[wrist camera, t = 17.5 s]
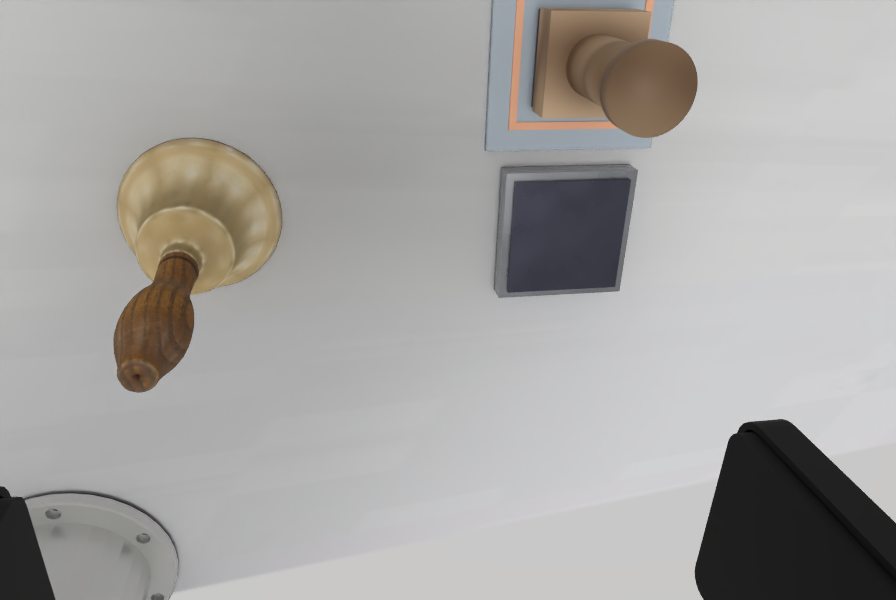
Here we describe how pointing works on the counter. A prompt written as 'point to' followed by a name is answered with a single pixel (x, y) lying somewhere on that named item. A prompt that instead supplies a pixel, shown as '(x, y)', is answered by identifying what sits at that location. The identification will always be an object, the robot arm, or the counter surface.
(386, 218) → the counter surface
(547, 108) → the stamp
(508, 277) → the ink pad
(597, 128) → the card
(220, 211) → the hand bell
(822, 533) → the robot arm
